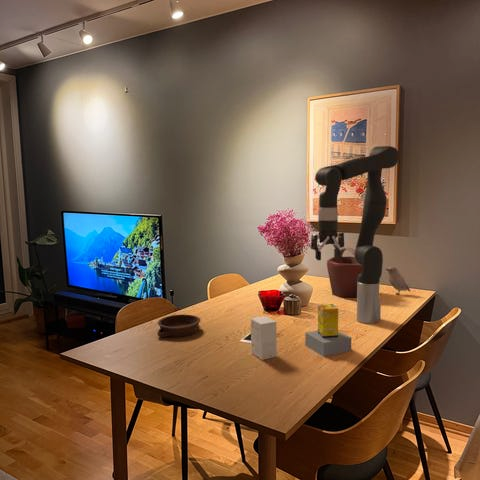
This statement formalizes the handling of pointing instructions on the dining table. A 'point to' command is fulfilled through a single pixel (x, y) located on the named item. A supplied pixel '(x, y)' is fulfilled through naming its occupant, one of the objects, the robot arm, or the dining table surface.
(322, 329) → the supplement box
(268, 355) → the small box
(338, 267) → the bucket
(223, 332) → the dining table surface
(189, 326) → the dish
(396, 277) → the bird
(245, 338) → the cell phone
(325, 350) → the base block
